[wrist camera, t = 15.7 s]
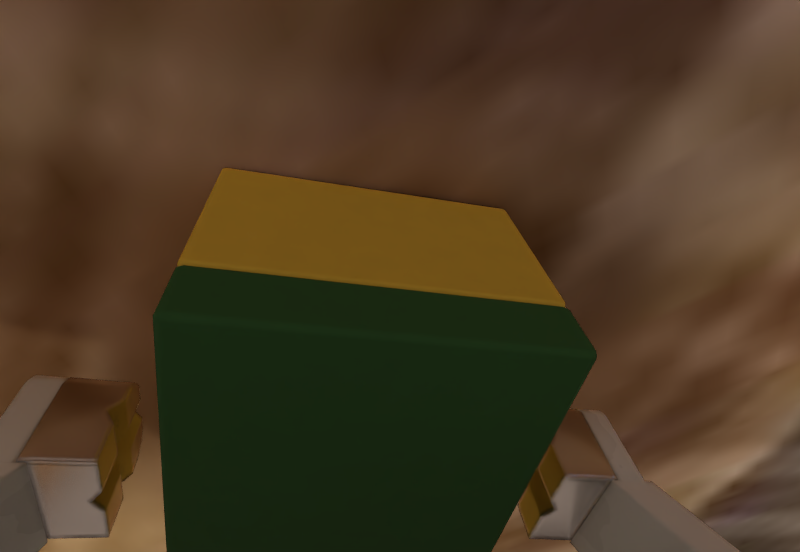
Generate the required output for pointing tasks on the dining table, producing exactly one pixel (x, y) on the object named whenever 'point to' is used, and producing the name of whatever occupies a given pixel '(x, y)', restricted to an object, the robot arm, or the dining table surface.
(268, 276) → the sponge
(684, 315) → the dining table surface
